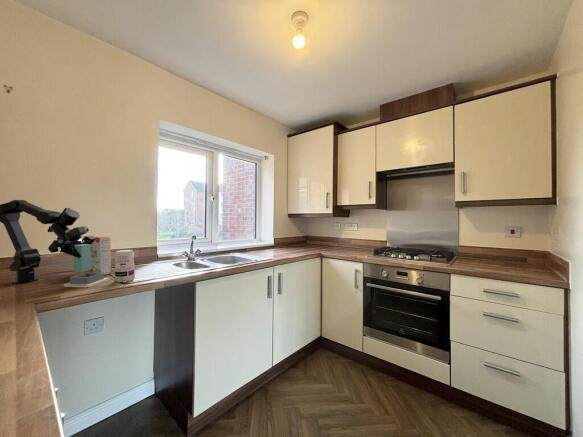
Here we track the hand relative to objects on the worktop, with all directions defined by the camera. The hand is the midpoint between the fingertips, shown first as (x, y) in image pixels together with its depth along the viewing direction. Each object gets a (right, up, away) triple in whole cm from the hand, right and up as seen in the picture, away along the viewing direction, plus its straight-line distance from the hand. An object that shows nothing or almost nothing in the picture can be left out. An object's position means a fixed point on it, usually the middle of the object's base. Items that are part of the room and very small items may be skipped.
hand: (85, 256), depth 118 cm
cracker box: (-10, -13, +20) cm, 26 cm away
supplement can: (+14, -13, +8) cm, 21 cm away
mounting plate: (-1, -13, +3) cm, 14 cm away
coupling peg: (-1, -7, 0) cm, 7 cm away
